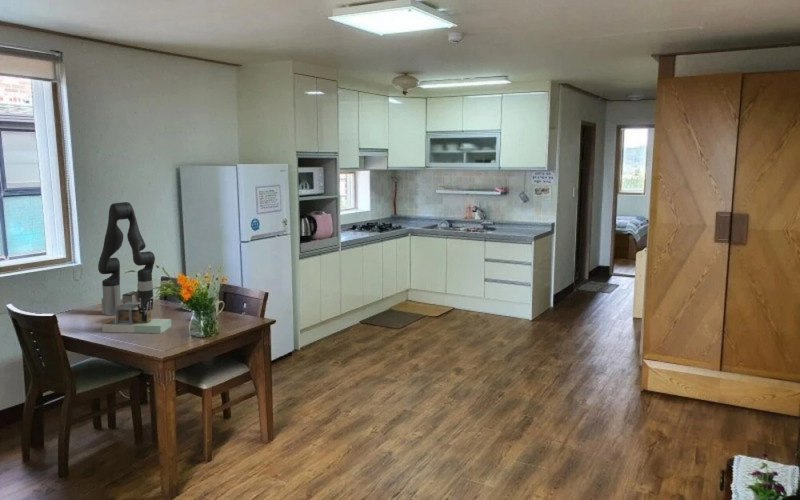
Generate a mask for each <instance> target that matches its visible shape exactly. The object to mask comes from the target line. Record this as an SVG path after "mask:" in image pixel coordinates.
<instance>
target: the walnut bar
mask: <svg viewBox="0 0 800 500" xmlns="http://www.w3.org/2000/svg"><path fill="white" fill-rule="evenodd" d="M144 311H145V310H144ZM131 312H132V320H133V321H134V323H149V322H150V321H151V319H152V310H147V312H146V317H147V321H142V314H139V310H131ZM118 315H119V320H129V310H119V311H118Z"/></svg>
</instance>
